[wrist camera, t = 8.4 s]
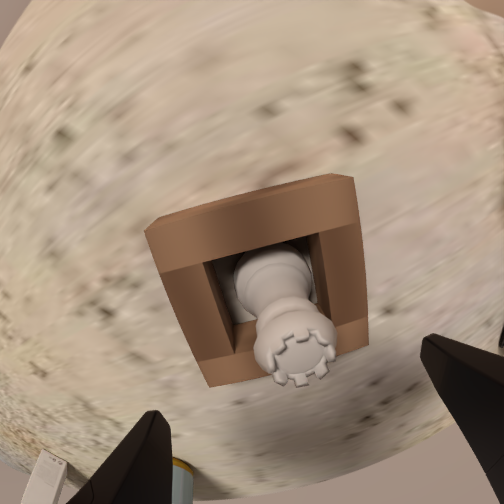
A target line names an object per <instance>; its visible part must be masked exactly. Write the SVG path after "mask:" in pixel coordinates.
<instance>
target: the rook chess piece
mask: <svg viewBox="0 0 504 504" xmlns="http://www.w3.org/2000/svg"><path fill="white" fill-rule="evenodd" d="M233 279H234V286H235V291H236V295H237V298H238V299H239V301H240V302H241V304H242V306H243V307H244V308H245V310H246V311H248V312H249V313H251V314H252V315H254V316H255V317H257V318H258V321H257V323H256V332H257V339H256V342H255V344H254V355H255V360H256V362H257V363H258V364H259V366H260V367H261V368H262V369H263V370H264V371H266V372H268V374H269V373H270V374H272V375H273V379H274V382H276V383H278V384H280V385H282V386H285V385H286V383H287V382H288V379H292V380H294V382H295V386H296V388H297V387H302V386H308V385H309V384H308V381H307V378H306V377H308V376H310V375H312V374H314V373H316V376H317V377H318V378H319V379H320V380H321V379H322V378H323V377H324V376H325V375H326V374H327V373H328V372H330V371H329V368H328V366H327V364H326V363H327V362H334V361H335V359H336V350H335V348H336V345H337V331H336V329H335V327H334V325H333V323H332V321H331V320H329V319H328V318H327V317H325V316H324V315H322V314H321V313H319V311H318V309H317V307H316V305H314V304H313V303H312V302H310V301H309V299H308V297H309V295H310V292H311V290H312V282H311V271H310V269H309V267H308V265H307V263H306V261H305V259H304V257H303V255H302V254H301V253H300V252H299V251H297V250H296V249H295V248H294V247H292V246H291V245H288V244H284V243H280V242H279V243H275V244H271V245H267V246H264V247H260V248H256V249H252V250H248V251H246V253H245V254H244V255H243V256H242V258H241V259H240V260H239V261H238V262H237V265H236V269H235V272H234V276H233Z"/></svg>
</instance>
